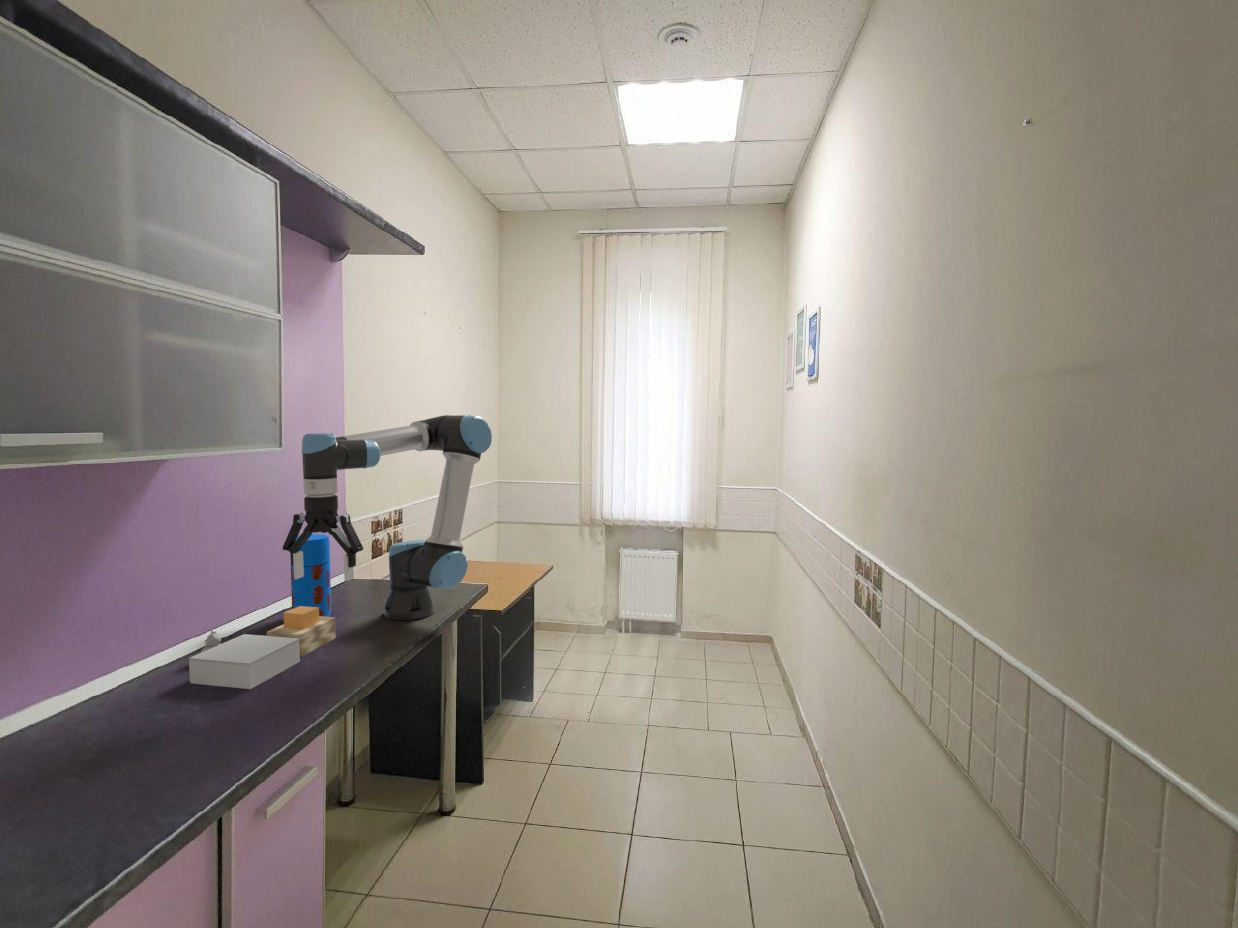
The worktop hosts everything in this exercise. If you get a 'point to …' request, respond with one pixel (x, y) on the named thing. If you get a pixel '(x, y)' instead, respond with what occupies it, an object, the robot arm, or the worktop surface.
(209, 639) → the white lumpy piece
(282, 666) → the dock
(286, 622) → the orange square block
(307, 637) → the pallet
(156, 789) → the worktop surface
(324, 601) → the thermos
